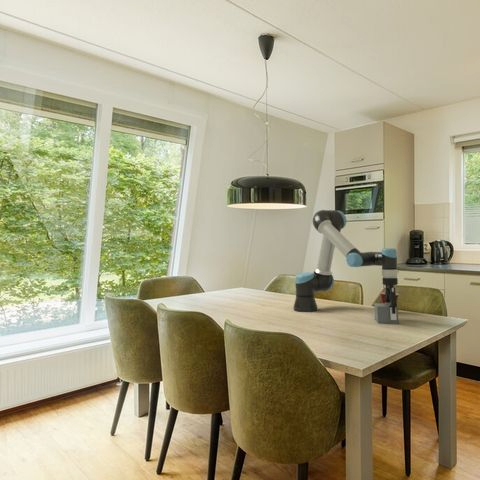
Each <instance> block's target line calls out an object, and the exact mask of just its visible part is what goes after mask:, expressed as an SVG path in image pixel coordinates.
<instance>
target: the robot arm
mask: <svg viewBox="0 0 480 480" xmlns="http://www.w3.org/2000/svg"><path fill="white" fill-rule="evenodd" d="M312 225H313V227H314V229H315V230H316V231H317V232H318V233H320V234H322V239H321V245H320V250H319V255H318V259H317V265H316V268H314V270H313V272H309V271H307V272H301V273H297V274H296V275H295V281H294V282H295V300H294V302H293V311H296V312H303V313H305V312H306V313H310V312H315V311H318V305H317V302H316V298H315V293H321V292H328V291H329V290H332V288H333V287H334V284H335V279H334V275H333V272H332V271H331V268H332V264H333V259H334V254H335V248H336V249H337V250H338V251H339V252H340V253H341V254H342V255H343V256H344V257H345V258H346V260H345V261H346V264H347V265H348V266H349V267H351V268H359V267H373V266H379V267H380V266H381V276H382V285H384V286H385V287H384V288H385V291H384V292H385V302H386V303H390V304H391V306H389V307H390V313H391V320H397V319H396V307H397V306H398V304H397V303H398V300H397V301H396V293H397V292H396V287H394V286H397V285H399V282H398V273H399V271H398V255H397V253H398V252H397V249H396V248H393V247H392V248H389V247H388V248H387V247H386V248H381V252H380V251H365V252H362V251H360V250H359V249H358V248H357V247H356V246H355V245H354V244H353V243H352V242H350V240H349V239H347V237H345V236H344V235H343V234H342V233H341V230H342V229H344V228H345V227H346V225H347V216H346V215H345V213H344V212H343V211H342V210H335V209H333V210H332V209H329V210H328V209H326V210H325V209H321V210H318V211H317V212H315V213H314V215H313V217H312Z"/></svg>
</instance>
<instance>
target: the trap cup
mask: <svg viewBox="0 0 480 480" xmlns="http://www.w3.org/2000/svg"><path fill="white" fill-rule="evenodd" d="M373 304H374V305H373V306H374V320H375V321H376V323H377V324H395V325H396V324H399V306H398V305H397V307H396V319H397V320H391V313H390V307H389V306H391V304H390V303H383V302H379V303H378V302H374V303H373Z"/></svg>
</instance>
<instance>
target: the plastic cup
mask: <svg viewBox="0 0 480 480" xmlns="http://www.w3.org/2000/svg"><path fill="white" fill-rule="evenodd" d="M379 293H380V298H381V301H382V302H381V303H386V302H385V291H380V292H379ZM395 293H396V301H397V302H398V298H399V296H400V293H397V292H395Z"/></svg>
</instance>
